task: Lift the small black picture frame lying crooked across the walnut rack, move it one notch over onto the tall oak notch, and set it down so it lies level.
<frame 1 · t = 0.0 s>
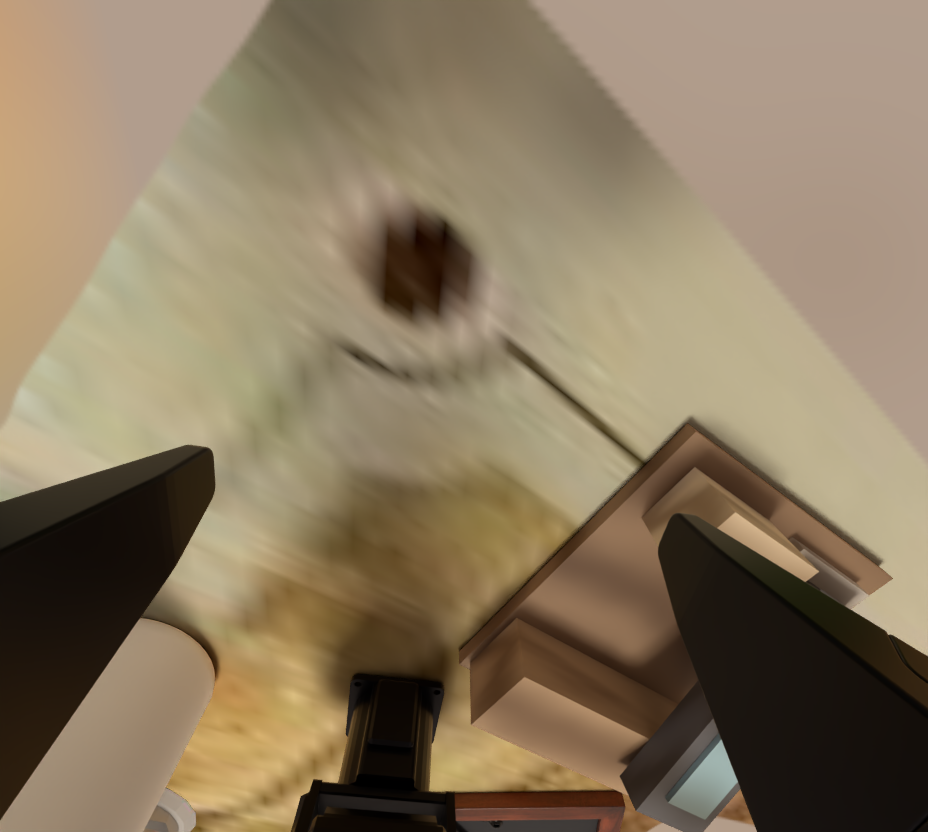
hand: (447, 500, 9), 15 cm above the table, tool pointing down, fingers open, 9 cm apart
wine bottle: (152, 658, 32), on the table
picture frame: (730, 692, 28), point 4 cm above the table, tilted 13°, touching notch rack
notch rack: (659, 611, 30), on the table
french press: (127, 807, 39), on the table
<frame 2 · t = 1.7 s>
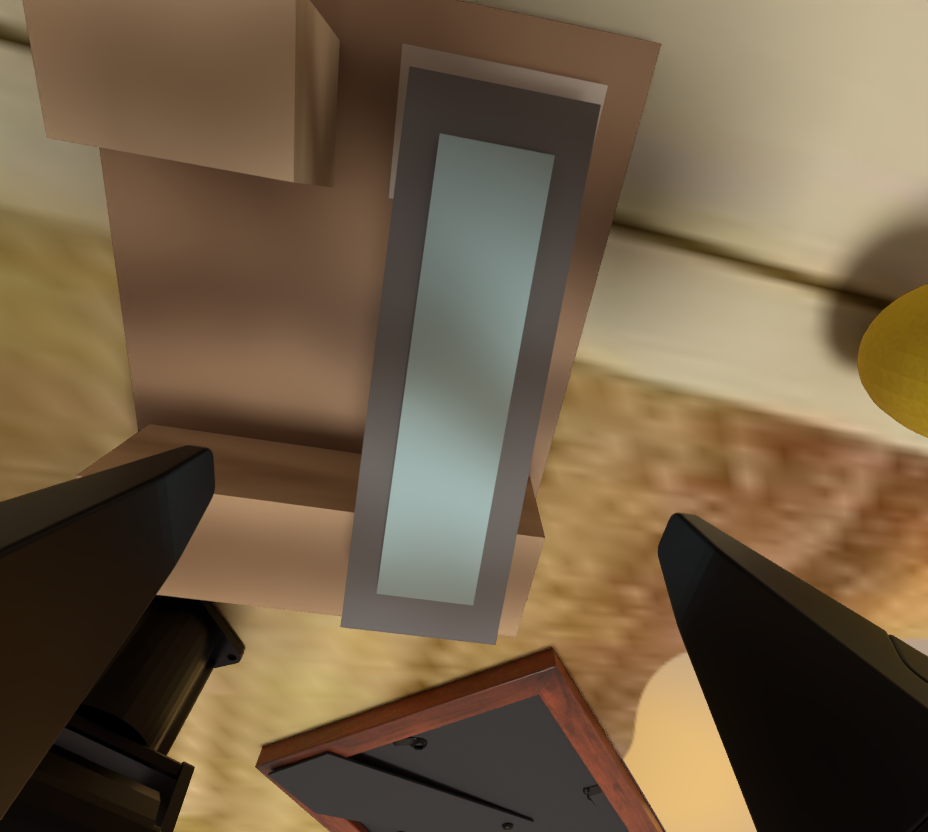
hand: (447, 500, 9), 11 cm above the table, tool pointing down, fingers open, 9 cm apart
picture frame: (456, 382, 15), point 4 cm above the table, tilted 13°, touching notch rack
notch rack: (358, 330, 19), on the table
lemon: (876, 330, 19), on the table
picture frame 2: (486, 792, 33), on the table
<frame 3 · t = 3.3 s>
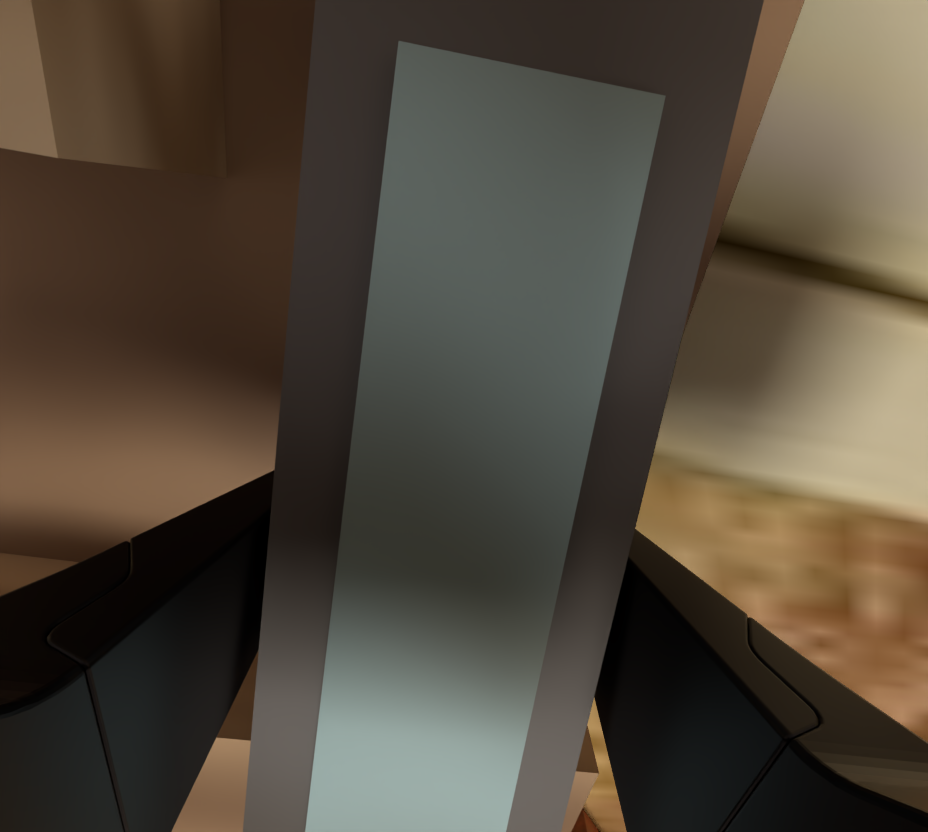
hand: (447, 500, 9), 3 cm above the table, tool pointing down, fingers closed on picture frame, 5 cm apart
picture frame: (445, 527, 9), point 4 cm above the table, tilted 13°, touching gripper, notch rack
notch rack: (294, 407, 12), on the table
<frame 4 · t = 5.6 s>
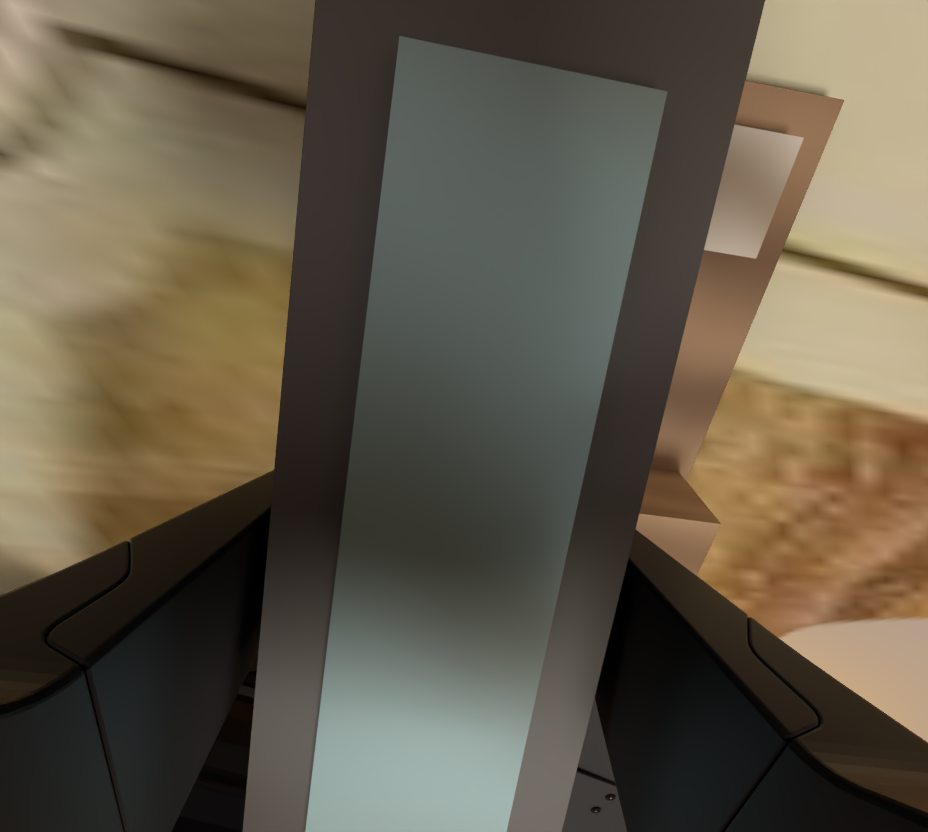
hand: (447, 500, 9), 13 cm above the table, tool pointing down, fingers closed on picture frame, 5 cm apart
picture frame: (445, 526, 9), point 14 cm above the table, tilted 14°, touching gripper
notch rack: (538, 344, 21), on the table
picture frame 2: (587, 766, 36), on the table
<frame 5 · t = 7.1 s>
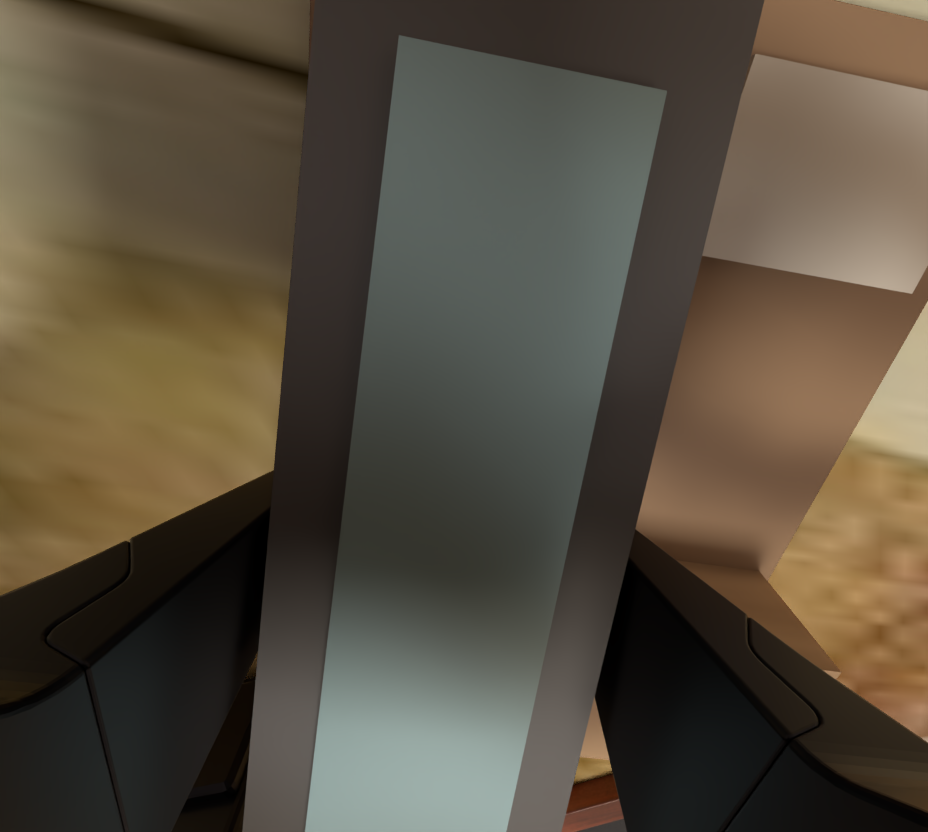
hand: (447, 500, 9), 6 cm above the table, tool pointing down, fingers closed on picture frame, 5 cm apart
picture frame: (445, 525, 9), point 7 cm above the table, tilted 13°, touching gripper
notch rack: (575, 401, 15), on the table
when the fingers open (6 cm above the table, at t = 8.2 s): picture frame drops 2 cm, resting on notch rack.
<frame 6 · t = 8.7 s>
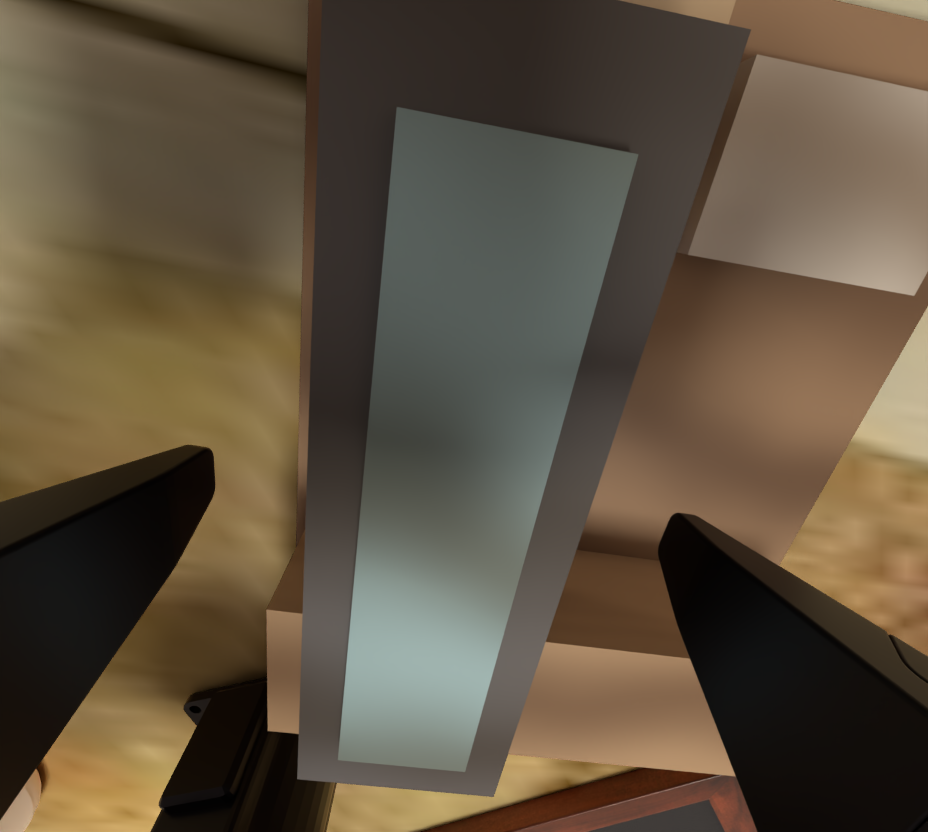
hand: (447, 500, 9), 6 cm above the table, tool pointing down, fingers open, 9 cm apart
picture frame: (446, 480, 10), point 5 cm above the table, touching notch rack
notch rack: (575, 403, 15), on the table
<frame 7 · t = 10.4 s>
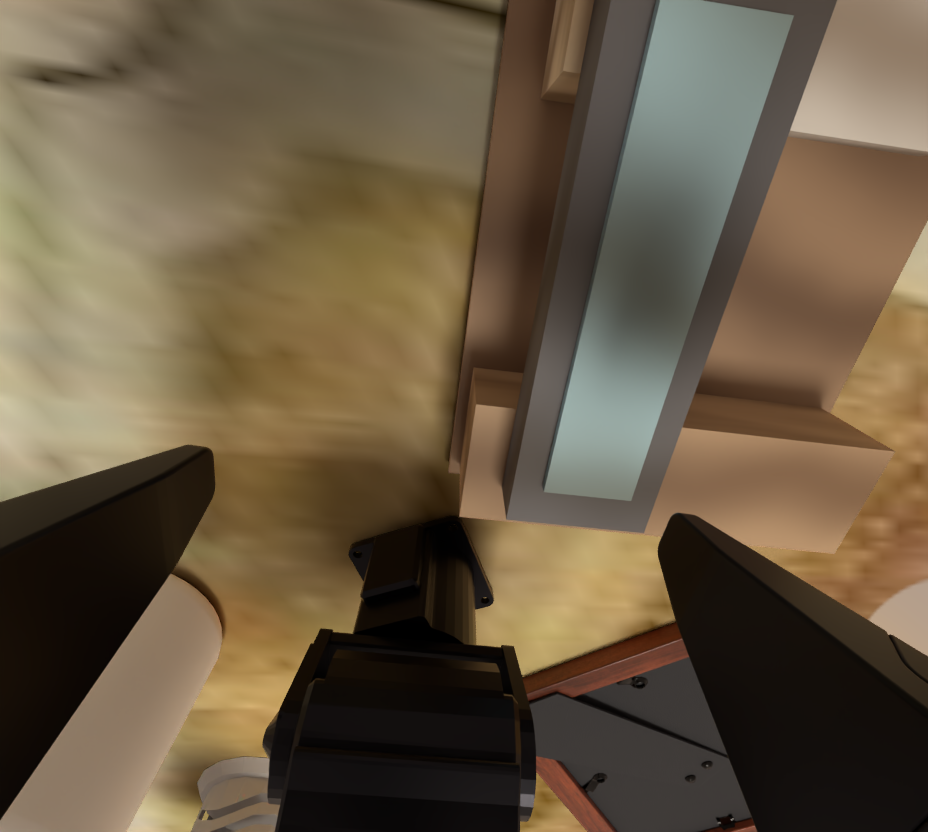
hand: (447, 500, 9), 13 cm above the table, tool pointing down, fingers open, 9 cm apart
wine bottle: (150, 613, 28), on the table
picture frame: (617, 288, 15), point 5 cm above the table, touching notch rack
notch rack: (677, 269, 20), on the table
picture frame 2: (679, 734, 35), on the table
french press: (251, 791, 36), on the table
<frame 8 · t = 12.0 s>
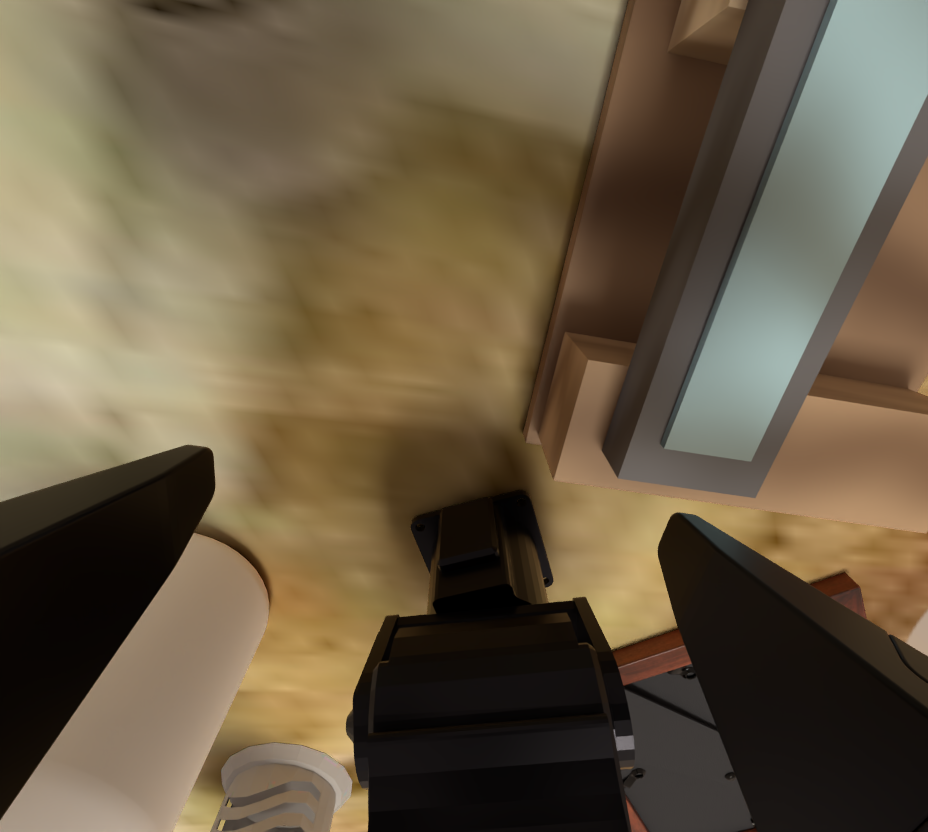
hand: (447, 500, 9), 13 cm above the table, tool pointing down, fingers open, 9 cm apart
wine bottle: (194, 585, 27), on the table
picture frame: (750, 241, 15), point 5 cm above the table, touching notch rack
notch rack: (776, 239, 19), on the table
picture frame 2: (720, 730, 34), on the table
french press: (276, 780, 35), on the table
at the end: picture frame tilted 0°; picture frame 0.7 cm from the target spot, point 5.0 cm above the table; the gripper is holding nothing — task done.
